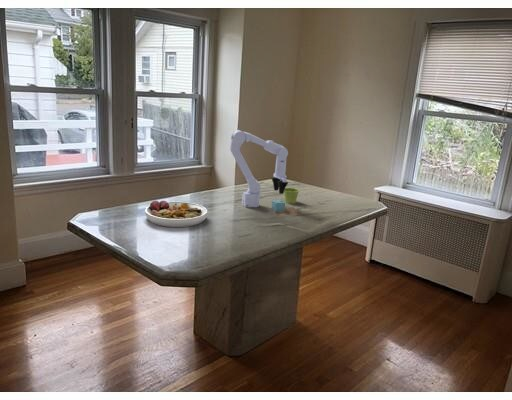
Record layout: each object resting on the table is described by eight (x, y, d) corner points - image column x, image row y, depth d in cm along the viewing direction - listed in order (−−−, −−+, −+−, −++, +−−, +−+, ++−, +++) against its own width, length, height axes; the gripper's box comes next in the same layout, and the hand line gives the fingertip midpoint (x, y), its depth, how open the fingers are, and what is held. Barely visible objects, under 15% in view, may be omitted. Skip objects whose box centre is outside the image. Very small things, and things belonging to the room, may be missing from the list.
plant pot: (298, 206, 246) (299, 192, 244) (282, 205, 246) (283, 191, 244) (297, 202, 255) (298, 188, 253) (281, 201, 255) (283, 187, 253)
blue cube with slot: (275, 211, 229) (276, 202, 227) (271, 208, 234) (272, 199, 232) (284, 211, 230) (285, 202, 229) (280, 208, 235) (281, 199, 234)
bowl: (215, 215, 220) (216, 201, 218) (192, 233, 192) (192, 216, 190) (163, 207, 228) (163, 193, 226) (133, 223, 200) (133, 207, 198)
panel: (277, 217, 223) (277, 215, 223) (268, 210, 235) (268, 208, 234) (303, 216, 228) (303, 214, 228) (293, 209, 240) (293, 207, 239)
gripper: (292, 170, 229) (290, 195, 233) (282, 165, 243) (280, 188, 246) (280, 170, 227) (278, 195, 231) (270, 165, 240) (269, 188, 244)
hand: (278, 191), depth 238 cm, fingers open, 7 cm apart
